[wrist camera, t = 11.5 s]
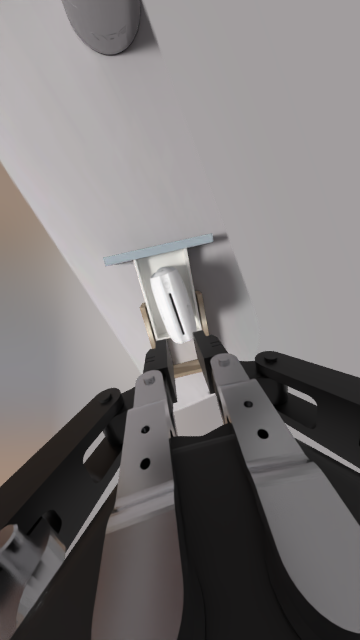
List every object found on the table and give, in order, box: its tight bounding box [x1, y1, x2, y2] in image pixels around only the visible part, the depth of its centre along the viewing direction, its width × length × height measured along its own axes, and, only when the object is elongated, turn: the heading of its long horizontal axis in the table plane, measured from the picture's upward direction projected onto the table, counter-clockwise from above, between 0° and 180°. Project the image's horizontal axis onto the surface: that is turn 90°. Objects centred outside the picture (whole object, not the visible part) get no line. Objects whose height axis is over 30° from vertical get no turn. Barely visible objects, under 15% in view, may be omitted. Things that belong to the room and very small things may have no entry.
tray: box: [103, 233, 213, 341], centre depth 32 cm, size 16×17×4 cm
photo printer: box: [150, 267, 197, 343], centre depth 27 cm, size 10×4×12 cm, turn 18°
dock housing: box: [140, 291, 209, 378], centre depth 36 cm, size 16×11×4 cm
